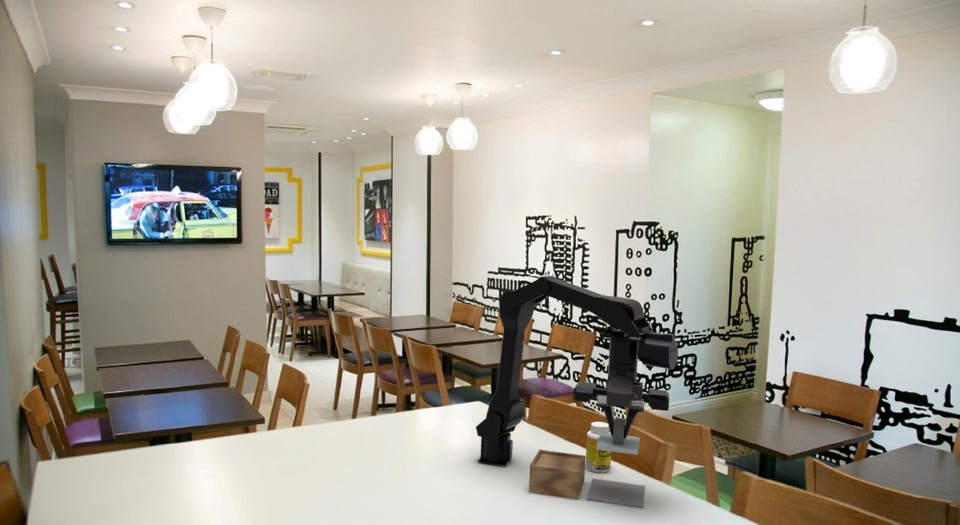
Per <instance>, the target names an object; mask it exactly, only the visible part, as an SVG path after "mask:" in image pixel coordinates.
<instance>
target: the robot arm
mask: <svg viewBox="0 0 960 525" xmlns="http://www.w3.org/2000/svg"><path fill="white" fill-rule="evenodd" d="M548 297H550V298H552V299H554V300H555V299H556V300H558V301H560V302H563V303H566V304H568V305H571V306H574V307H575V308H578V309H581V310H584V311H586V312H589V313H592V314H593V315H595V316H596V317H597V318H598V319H600V320H601V322H603V323H605V324H607V325H608V326H607V327H606V329H605V330H604V331H602V332H601V333H599V337H600V338H603V339H604V338H605V339H609V348H608V365H607V366H608V367H607V368H608V369H607V380H606V381H605V388H599V387H598V388H597V387H596V383H595V382H587V381H578V382H577V383H576V384H575V386H574V388H573V395H572V396H573V397H572V400H573V401H576V402H584V403H590V402H591V401H592V399H593V398H596V400H597V402H596V407H597V408H600V409H602V410H603V413H604V415H605V417H606V421H607V424H608V425H609V433H611V436H612V437H613V429H614V422H615V410H614V408H615V407H614V406H616V407H623V408H628V410H627V415H626V418H625V429H624V439H626V436H628V434H629V430H630V429H631V426H632V423H633V421H634V419H635V418H636V416H637V414H638V413H644V412H645V404H648V407H650V409H651V410H653V411H656V410H657V411H664V412H666V411H669V409H670V407H669V406H670V393H669V392H668V390H663V389H662V390H661V389H654V388H653V389H652V388H650V389H649V390H648V393H645V392H643V391H644V389H643V387H644V382H642V381H640V382H639V381H637V378H638V361H639V362H641V363H642V365H644V366H647V367H648V366H649V367H655V368H660V369H667V370H674V369H675V367H676V365H677V361H678V357H679V349H678V344H677V341H676V334H675V333H661V332H654V330H653V328H652V326H651V324H650V323H649V322H648V320H647V319H646V317H645V315H644V314H645V313H644V312H645V311H644V308H643V306H642V303H640V302H639V301H638V300H635V299H633V298H627V297H622V296H613V295H605V294H601V293H598V292H595V291H593V290H590V289H586V288H584V287H581V286H578V285H576V284H573V283H570V282H567V281H564V280H562V279H559V278H557V277H555V276H554V275H544V276H540V277H538V278H537V279H535V280H534V281H532V282H530V283H527V284H525V285H524V286H521V287H519V288H517V289H509V290H506V291H505V292H503V293H502V294H501V295H500V296H499V301H498V306H499V307H498V310H499V311H498V314H499V316H498V317H499V319H500V321H501V325H502V328H503V330H502V331H503V334H502V340H501V342H502V343H501V351H500V359H499V366H498V367H499V368H498V375H497V376H498V377H497V385H496V386H497V387H496V391H495V392H494V394H493V396H492V398H491V400H490V401H489V404H488V408H487V411H486V416H485V418H484V419H483V420H482V421H480V423H479V424H477V425H476V427H475V430H476V434H477V436H478V437H480V438H481V439H480V457H479V459H478V460H477V462H478V463H481V464H487V465H495V466H499V467H500V466H503V467H506V466H507V465H508V464H509V462H510V461H511V460H512V458H513V452H514V451H513V447H514V446H513V445H514V441H513V439H512V438H511V436H512V433H514V431H515V429H516V428H517V425H519V424H520V423H521V422H522V419H523V418H525V417H526V414H525V407H526V403H527V399H523V398H522V399H521V397H520V393H519V384H520V375H521V368H522V366H521V365H522V360H523V352H524V344H525V336H526V335H525V333H526V329H527V327H528V325H529V323H530V322H531V320H532V319H533V315H534V311H535V308H536V305H537V304H539V303H541V302H543V301H544V300H546V299H547V298H548Z"/></svg>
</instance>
